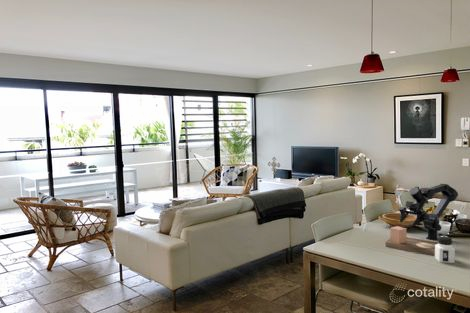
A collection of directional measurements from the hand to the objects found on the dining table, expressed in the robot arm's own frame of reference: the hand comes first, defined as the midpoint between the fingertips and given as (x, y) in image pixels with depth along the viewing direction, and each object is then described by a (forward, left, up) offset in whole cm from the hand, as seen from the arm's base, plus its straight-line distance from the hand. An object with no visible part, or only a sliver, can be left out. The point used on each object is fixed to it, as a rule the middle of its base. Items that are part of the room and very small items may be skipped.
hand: (406, 223), depth 229 cm
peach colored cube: (+7, -3, -10) cm, 13 cm away
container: (+17, +24, -13) cm, 32 cm away
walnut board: (+3, +5, -13) cm, 14 cm away
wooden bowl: (-40, -15, -13) cm, 45 cm away
